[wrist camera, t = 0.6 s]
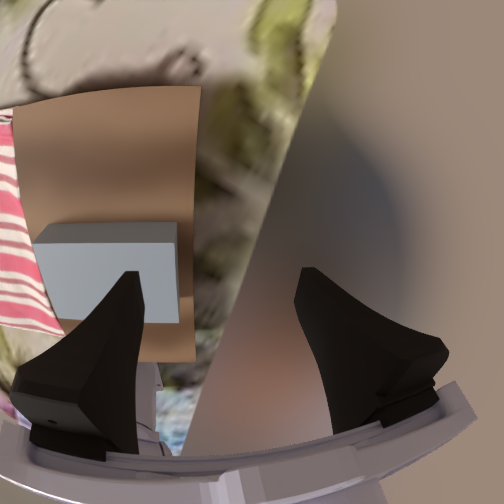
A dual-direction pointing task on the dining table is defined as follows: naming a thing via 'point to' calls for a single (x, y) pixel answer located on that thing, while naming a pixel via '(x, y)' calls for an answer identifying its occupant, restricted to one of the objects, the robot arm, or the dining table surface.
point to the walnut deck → (116, 179)
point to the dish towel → (19, 251)
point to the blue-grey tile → (109, 265)
